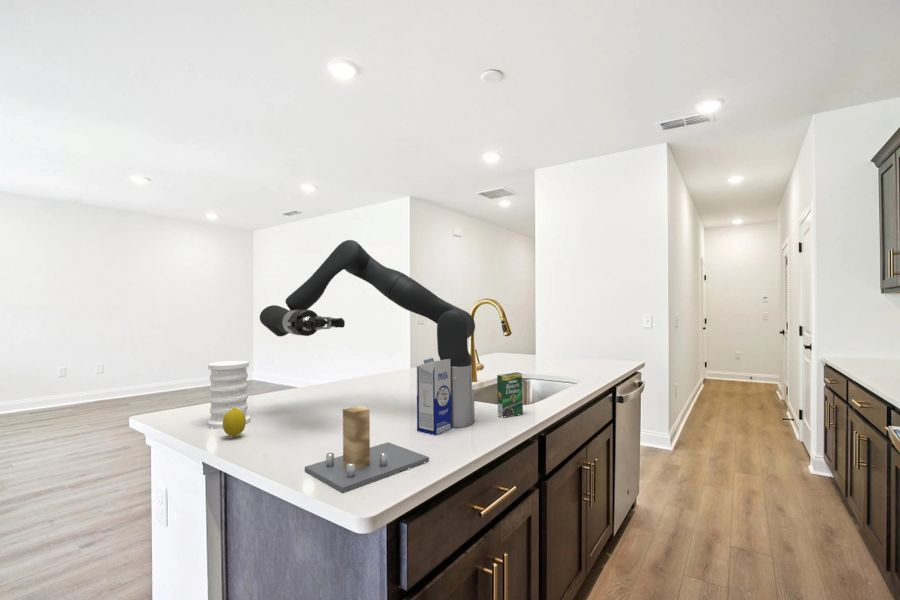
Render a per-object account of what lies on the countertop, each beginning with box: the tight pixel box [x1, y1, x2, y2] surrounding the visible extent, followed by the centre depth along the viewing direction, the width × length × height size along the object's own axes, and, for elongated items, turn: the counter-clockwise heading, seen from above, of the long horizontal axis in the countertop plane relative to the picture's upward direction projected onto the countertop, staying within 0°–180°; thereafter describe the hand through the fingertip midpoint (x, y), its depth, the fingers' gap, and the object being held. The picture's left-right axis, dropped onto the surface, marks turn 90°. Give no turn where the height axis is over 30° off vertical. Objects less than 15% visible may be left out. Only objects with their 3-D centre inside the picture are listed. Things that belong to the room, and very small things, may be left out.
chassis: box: [304, 442, 430, 494], centre depth 95 cm, size 22×15×4 cm
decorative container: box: [206, 360, 252, 429], centre depth 130 cm, size 12×12×18 cm
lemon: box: [223, 408, 247, 439], centre depth 116 cm, size 6×6×8 cm
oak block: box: [342, 405, 371, 470], centre depth 92 cm, size 4×4×12 cm
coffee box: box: [496, 371, 524, 418], centre depth 136 cm, size 8×3×13 cm, turn 118°
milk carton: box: [416, 357, 452, 436], centre depth 121 cm, size 7×7×20 cm
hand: (329, 324), depth 116 cm, fingers open, 8 cm apart
